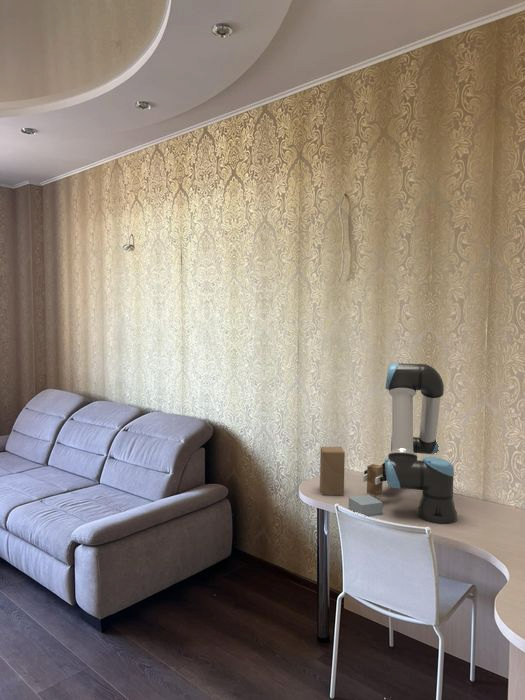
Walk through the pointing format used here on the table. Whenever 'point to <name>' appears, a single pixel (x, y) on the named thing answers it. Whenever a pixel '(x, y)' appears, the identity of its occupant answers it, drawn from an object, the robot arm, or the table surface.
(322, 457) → the wooden block
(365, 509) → the grey base block
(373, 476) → the walnut block
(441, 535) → the table surface
